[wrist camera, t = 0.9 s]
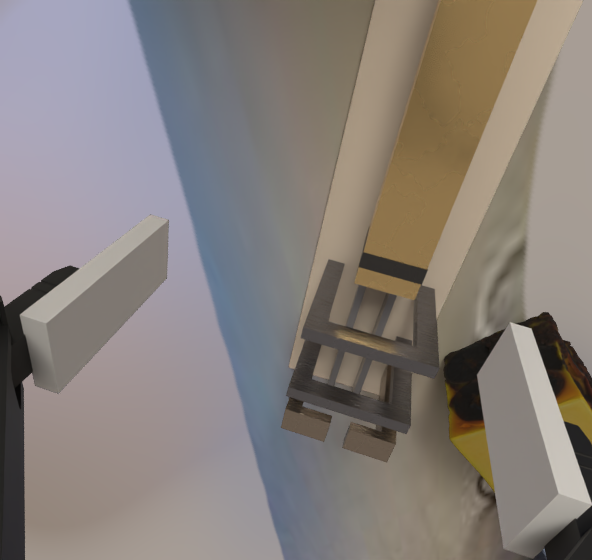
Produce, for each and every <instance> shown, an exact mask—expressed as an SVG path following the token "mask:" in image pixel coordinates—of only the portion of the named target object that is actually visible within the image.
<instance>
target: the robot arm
mask: <svg viewBox="0 0 592 560" xmlns="http://www.w3.org/2000/svg"><path fill="white" fill-rule="evenodd" d="M168 226H169V220H167V219H163V218H160V217H157V216H154V215H149V216H148V217H146V218H145V219H144V220H143V221H141V222H140V223H139V224H137V225H136V226H135V227H133V228H132V229H131V230H129V231H128V232H127V233H126V234H124V235H123V236H122V237H120V238H119V239H118V240H116V241H115V242H114V243H113V244H111V245H110V246H109V247H107V248H106V249H105V250H104V251H102V252H101V253H100V254H98V255H97V256H96V257H94V258H93V259H92V260H90V261H89V262H88V263H87V264H85V265H84V266H83V267H81V268H80V269H79V268H76V267H73V266H67V267H65V268H62V269H59V270H56V271H54V272H52V273H51V274H49V275H48V276H47V277H45V278H44V279H43V280H41V282H38V283H37V284H35V285H34V286H33V287H32V288H31V290H30V289H29V290H27V291H26V292H24V293H23V294H22V295H20V296H19V297H17V298H16V299H15V300H13V301H12V302H10V303H9V304H8V305H6V306H5V307H4V304H3V301H2V298H1V296H0V560H25V515H24V514H25V512H24V508H25V507H24V388H23V384H22V381H23V380H24V379H25V378H26V377H28V376H29V375H30V374H31V373H32V374H33V379H34V383H35V386H37V387H40V388H43V389H46V390H49V391H51V392H54V393H57V394H59V393H60V392H61V391H62V390H63V389H64V387H65V386H66V385H67V384H68V383H69V382H70V381H71V380H72V379H73V378H74V377H75V376H76V375H77V374H78V372H79V371H80V370H81V369H82V368H83V367H84V366H85V365H86V364H87V363H88V362H89V361H90V360H91V359H92V358H93V356H94V355H95V354H96V353H97V352H98V351H99V350H100V349H101V348H102V347H103V346H104V345H105V344H106V343H107V342H108V340H109V339H110V338H111V337H112V336H113V335H114V334H115V333H116V332H117V331H118V330H119V329H120V328H121V327H122V325H123V324H124V323H125V322H126V321H127V320H128V319H129V318H130V317H131V316H132V315H133V314H134V313H135V312H136V310H138V308H139V307H140V306H141V305H142V304H143V303H144V302H145V301H146V300H147V299H148V298H149V297H150V296H151V295H152V294H153V292H154V291H155V290H156V289H157V288H158V287H159V286H160V285H161V284H162V283H163V282H164V281H165V279H167V261H168V260H167V259H168V228H169V227H168ZM477 378H478V385H479V391H480V398H481V404H482V411H483V417H484V424H485V430H486V437H487V443H488V450H489V456H490V463H491V469H492V476H493V482H494V489H495V495H496V502H497V508H498V515H499V521H500V528H501V534H502V541H503V547H504V549H506V550H509V551H512V552H515V553H518V554H520V555H523V556H526V557H529V558H532V559H533V558H534V557H535V556H536V555H537V554H538V553H539V552H541V551H542V550H543V549H544V548H545V552H546V557H547V560H592V444H591V442H590V440H589V439H588V438H587V436H586V435H585V434H584V432H583V431H582V430H581V429H580V427H579V426H578V425H575V424H572V423H569V422H565V421H563V419H562V416H561V413H560V410H559V407H558V404H557V401H556V398H555V395H554V393H553V390H552V387H551V384H550V381H549V378H548V375H547V372H546V369H545V366H544V364H543V361H542V358H541V355H540V352H539V349H538V346H537V343H536V340H535V338H534V335H533V332H532V329H531V328H528V327H524V326H521V325H518V324H514V323H511V322H510V323H509V324H508V326H507V328H506V329H505V331H504V332H503V334H502V336H501V337H500V339H499V340H498V342H497V344H496V345H495V347H494V348H493V350H492V352H491V353H490V355H489V357H488V358H487V360H486V361H485V363H484V365H483V366H482V368H481V369H480V371H479V373H478V374H477Z"/></svg>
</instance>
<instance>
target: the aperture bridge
mask: <svg viewBox="0 0 592 560" xmlns="http://www.w3.org/2000/svg"><path fill="white" fill-rule="evenodd" d="M391 368H392V366H391V365H386V367H385V370H384V372H383V375H382V377H381V383H380V392H379V401H382V402H386V403H389V394H390V381H391ZM303 402H304V401H301V400H298V399H295V398H292V397H290V398H289V401H288V404H287V406H286V410H285V414H284V418H283V422H282V426H281V428H283V429H286V430H289V431H292V432H295V433H299V434H302V435H305V436H308V437H311V438H314V439H317V440H320V441H323V442H324V440H325V437H326V435H327V432H328V429H329V426H330V423H331V418H332V416H330V415H327V414H324V413H321V412H318V411H315V410H312V409H308V408H305V407H302V405H303ZM395 445H396V431H395V430H392V429H389V428H386V427H383V426H380V425H376V430H374V429H371V428H368V427H365V426H362V425H359V424H355V423H352V422H351V423H350V425H349V428H348V430H347V433H346V436H345V438H344V442H343V447H342V448H344V449H348V450H351V451H354V452H357V453H360V454H363V455H366V456H369V457H372V458H375V459H378V460H381V461H384V462H387V461H388V459H389V457H390V455H391V453H392V451H393V449H394V447H395Z"/></svg>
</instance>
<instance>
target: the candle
mask: <svg viewBox="0 0 592 560" xmlns="http://www.w3.org/2000/svg"><path fill="white" fill-rule="evenodd" d="M517 324H518V325H521V326H524V327H528V328H531V329H532V332H533V335H534V338H535V340H536V343H537V346H538V349H539V352H540V355H541V358H542V361H543V364H544V366H545V369H546V372H547V375H548V378H549V381H550V384H551V387H552V390H553V393H554V395H555V398H556V401H557V404H558V407H559V410H560V413H561V416H562V419H563V421H565V422H569V423H572V424H575V425H578V426H579V427H580V429H581V430H582V431H583V432H584V434H585V435H586V436H587V438H588V439H589V440H590V442H591V444H592V378H591V376H590V374H589V372H588V371H587V368H586V367H585V366H584V364H583V362H582V360H581V359H580V358H579V357H578V356H577V353H576V351H575V350H574V348H573V347H571V346H570V345H571V344H570V342H568V341H564V340H562V338H561V336H560V334H559V333H558V328H557V325H556V322H555V321H554V320H553V318H552V316H550V314H549V313H548V312H543V313H542V314H540V315H539V316H538V317H533V318H530V319H528V320H526V321H525V322H521V323H517ZM504 331H505V329H504V330H501V331H499V332H496V333H495V334H493V335H491V336H490V337H485V338H484V339H482V340H480V341H477V342H475V343H474V344H472V345H470V346H468V347H466V348H463V349H461V350H459V351H455V352H451V353H450V354H448V355H447V356H446V357H445V359H444V360H445V367H444V376H445V378H446V380H445V386H446V392H447V400H448V409H449V411H450V414H449V417H448V418H449V437H450V440H451V442H452V443H453V444H454V445H455V447H456V448H457V449H458V450H459V451H460V452H461V454H462V455H463V456H464V457H465V458H466V459H467V460H468V461H469V462H470V463H471V464H472V466H473V467H474V468H475V469H476V470H477V471H478V472H479V473H480V475H481V476H482V477H483V478H484V479H485V480H486V482H487V483H488V484H489V486H490V487H491V488H492V490H493V491H494V492H495V489H494V482H493V476H492V469H491V463H490V456H489V450H488V443H487V437H486V430H485V424H484V417H483V411H482V404H481V398H480V391H479V385H478V378H477V374H478V373H479V371H480V369H481V368H482V366H483V365H484V363H485V361H486V360H487V358H488V357H489V355H490V353H491V352H492V350H493V348H494V347H495V345H496V344H497V342H498V340H499V339H500V337H501V336H502V334H503V332H504Z"/></svg>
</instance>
